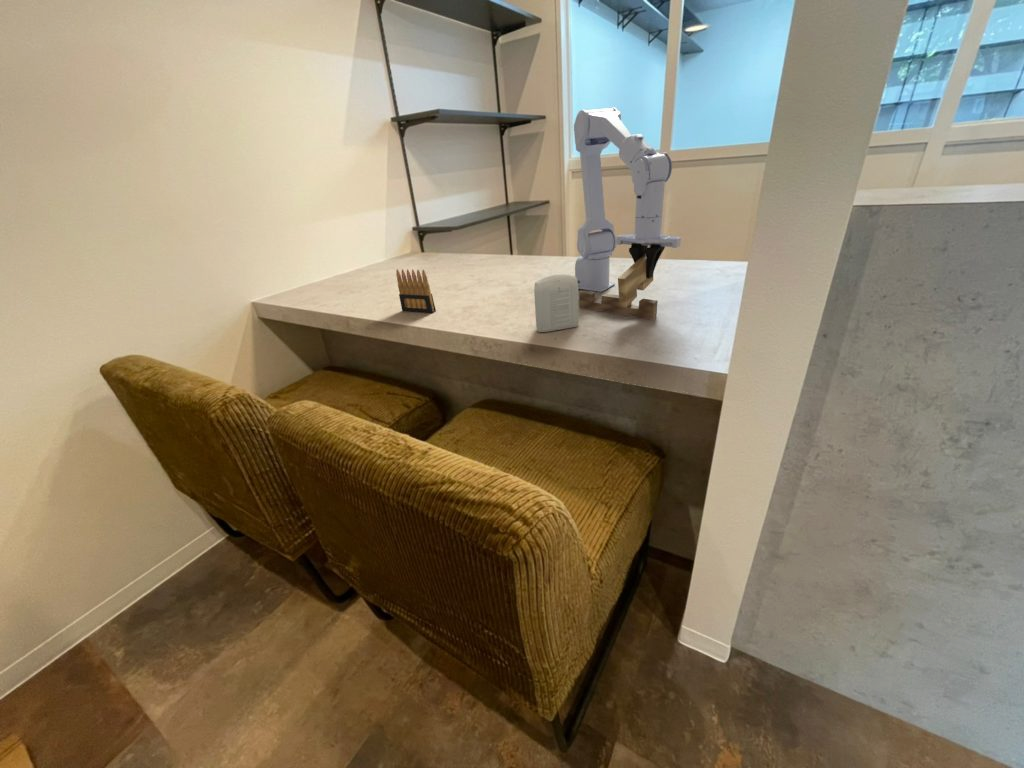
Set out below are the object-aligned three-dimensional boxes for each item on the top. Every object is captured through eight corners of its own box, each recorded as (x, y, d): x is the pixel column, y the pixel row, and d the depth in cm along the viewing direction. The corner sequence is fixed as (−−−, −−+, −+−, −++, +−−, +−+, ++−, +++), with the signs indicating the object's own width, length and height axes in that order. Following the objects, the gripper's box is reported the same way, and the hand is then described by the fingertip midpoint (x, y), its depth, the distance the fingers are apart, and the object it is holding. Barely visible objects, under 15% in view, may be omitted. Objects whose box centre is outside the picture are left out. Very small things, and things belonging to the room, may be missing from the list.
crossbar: (619, 306, 94) (617, 278, 90) (647, 279, 102) (646, 252, 98) (626, 307, 93) (624, 278, 89) (653, 280, 101) (653, 252, 97)
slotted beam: (579, 307, 108) (579, 292, 106) (583, 305, 109) (583, 290, 107) (652, 319, 96) (653, 303, 94) (656, 317, 97) (657, 300, 95)
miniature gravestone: (575, 321, 100) (573, 270, 94) (581, 327, 96) (580, 274, 90) (534, 328, 99) (530, 276, 93) (539, 334, 95) (535, 281, 89)
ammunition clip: (436, 311, 117) (427, 268, 111) (432, 313, 116) (423, 270, 110) (405, 309, 121) (396, 268, 116) (402, 311, 120) (392, 269, 114)
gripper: (610, 218, 94) (609, 278, 100) (673, 219, 85) (667, 284, 92) (625, 213, 98) (623, 270, 105) (686, 214, 89) (680, 276, 96)
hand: (645, 276), depth 99 cm, fingers closed on crossbar, 2 cm apart
